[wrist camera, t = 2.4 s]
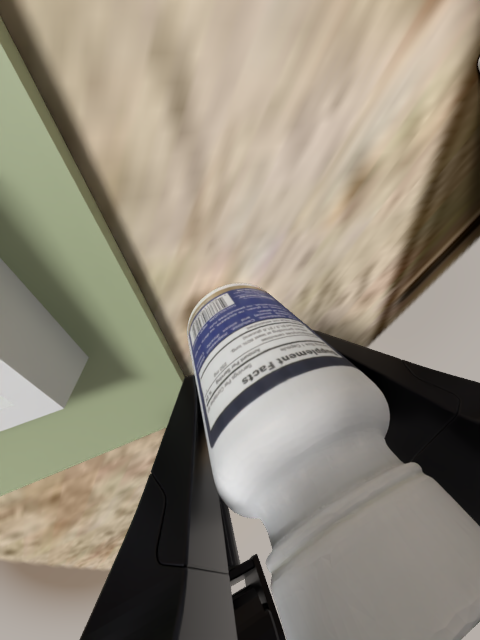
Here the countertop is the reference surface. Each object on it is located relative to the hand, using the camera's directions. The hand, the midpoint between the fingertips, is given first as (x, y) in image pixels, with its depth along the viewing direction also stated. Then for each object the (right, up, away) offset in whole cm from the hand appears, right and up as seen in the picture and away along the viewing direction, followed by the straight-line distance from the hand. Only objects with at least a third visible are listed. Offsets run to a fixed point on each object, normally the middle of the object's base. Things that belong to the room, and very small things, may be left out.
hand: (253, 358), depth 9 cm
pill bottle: (-1, +2, +3) cm, 3 cm away
